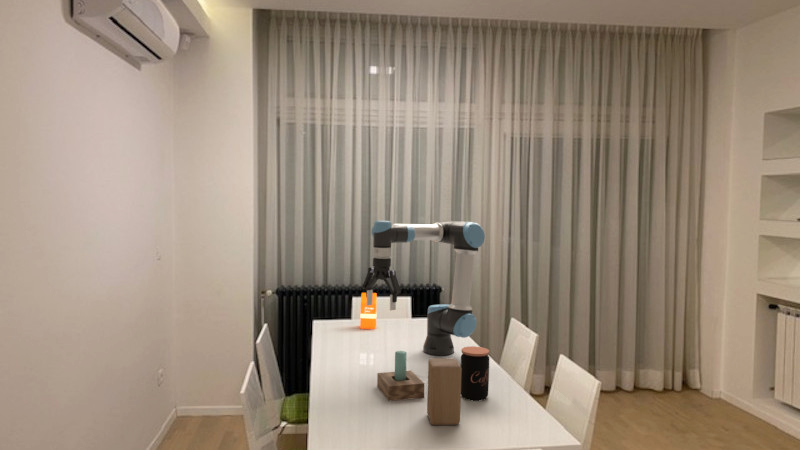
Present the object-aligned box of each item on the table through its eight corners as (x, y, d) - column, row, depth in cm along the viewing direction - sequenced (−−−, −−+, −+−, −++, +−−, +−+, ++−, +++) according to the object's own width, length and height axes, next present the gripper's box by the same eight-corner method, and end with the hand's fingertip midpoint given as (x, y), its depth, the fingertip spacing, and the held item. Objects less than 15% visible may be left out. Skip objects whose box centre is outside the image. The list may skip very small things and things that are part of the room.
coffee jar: (470, 403, 206) (471, 355, 205) (454, 394, 215) (455, 348, 215) (493, 399, 211) (495, 352, 210) (477, 390, 220) (478, 345, 219)
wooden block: (426, 414, 194) (428, 357, 194) (455, 414, 195) (456, 357, 194) (430, 426, 185) (432, 366, 184) (460, 425, 185) (462, 366, 184)
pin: (403, 385, 219) (404, 350, 218) (407, 389, 215) (408, 353, 214) (393, 386, 218) (393, 351, 217) (396, 390, 213) (397, 354, 213)
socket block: (410, 383, 226) (410, 370, 226) (424, 397, 211) (424, 383, 210) (377, 386, 222) (377, 373, 221) (388, 400, 206) (388, 386, 206)
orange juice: (375, 328, 319) (376, 294, 318) (360, 328, 319) (360, 293, 318) (376, 325, 327) (377, 291, 326) (361, 325, 327) (361, 291, 326)
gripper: (355, 255, 240) (354, 304, 241) (397, 260, 223) (396, 313, 224) (367, 254, 246) (366, 302, 247) (410, 259, 229) (408, 310, 230)
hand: (380, 307), depth 236 cm, fingers open, 13 cm apart
